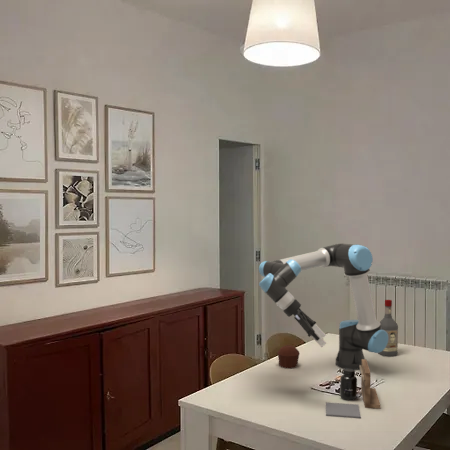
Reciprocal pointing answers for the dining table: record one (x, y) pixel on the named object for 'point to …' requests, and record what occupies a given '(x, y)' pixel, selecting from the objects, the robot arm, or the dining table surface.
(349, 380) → the supplement bottle
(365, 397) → the board
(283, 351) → the muffin
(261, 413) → the dining table surface
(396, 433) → the dining table surface
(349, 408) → the rubber mat
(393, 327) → the liquor
